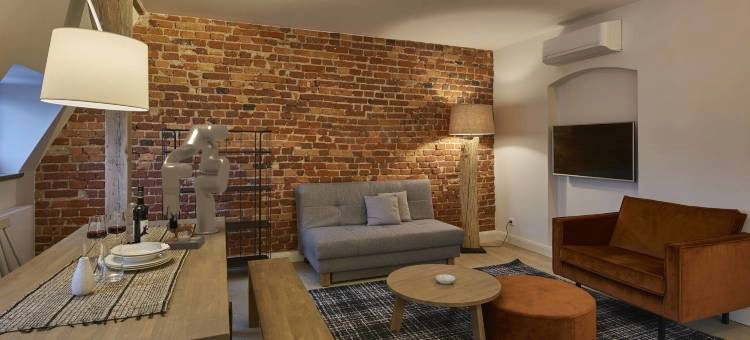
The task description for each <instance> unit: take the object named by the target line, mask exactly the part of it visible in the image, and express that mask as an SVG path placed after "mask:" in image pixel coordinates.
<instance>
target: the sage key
mask: <svg viewBox="0 0 750 340" xmlns="http://www.w3.org/2000/svg"><path fill="white" fill-rule="evenodd" d="M191 237H192V236H191ZM201 237H202V236H194V237H192V238H191V239H190V241H195V240H200V239H201Z"/></svg>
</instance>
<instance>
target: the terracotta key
mask: <svg viewBox="0 0 750 340" xmlns="http://www.w3.org/2000/svg"><path fill="white" fill-rule="evenodd" d="M166 240H167V241H177V240H179V237H178V238H174V237H169V238H168V239H166Z"/></svg>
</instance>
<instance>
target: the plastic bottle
mask: <svg viewBox="0 0 750 340" xmlns="http://www.w3.org/2000/svg"><path fill="white" fill-rule="evenodd" d="M135 206H136V207H137V203H136V202H127V203H126V207H127V209H125V211H124V213H125V215H126V221H125V223H126V222H127V228H126V227H125V228H126V229H125V236H124V239H126V240H125V242H126V241H127V242H132V241H133V207H135ZM127 242H126V243H127Z"/></svg>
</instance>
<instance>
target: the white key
mask: <svg viewBox="0 0 750 340" xmlns="http://www.w3.org/2000/svg"><path fill="white" fill-rule="evenodd" d="M190 237H191V235H189V236H187V235H181V236H178V238H179V241H188V240H189V239H190Z"/></svg>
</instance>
